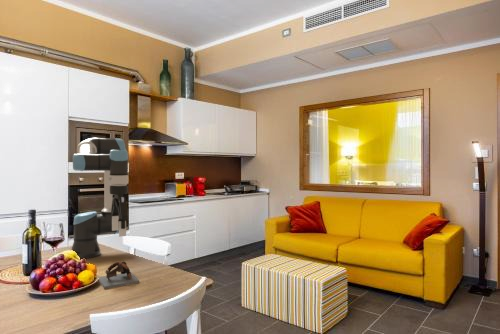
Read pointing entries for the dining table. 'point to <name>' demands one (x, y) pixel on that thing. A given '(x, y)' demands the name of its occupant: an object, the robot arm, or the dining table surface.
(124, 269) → the brown arch piece
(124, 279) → the slate mat
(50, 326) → the dining table surface
